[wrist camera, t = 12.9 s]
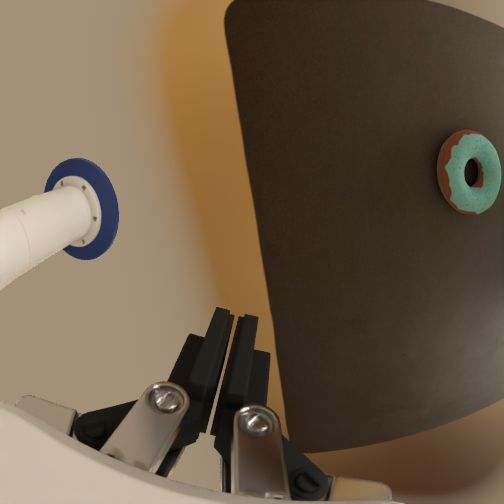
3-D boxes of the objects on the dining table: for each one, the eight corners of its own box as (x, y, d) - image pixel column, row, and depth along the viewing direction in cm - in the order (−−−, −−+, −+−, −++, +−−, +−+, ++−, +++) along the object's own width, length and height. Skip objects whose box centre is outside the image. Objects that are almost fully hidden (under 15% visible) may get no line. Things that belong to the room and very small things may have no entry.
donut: (436, 217, 33) (450, 225, 29) (424, 132, 29) (439, 132, 25) (492, 204, 30) (507, 211, 27) (484, 127, 27) (500, 128, 23)
